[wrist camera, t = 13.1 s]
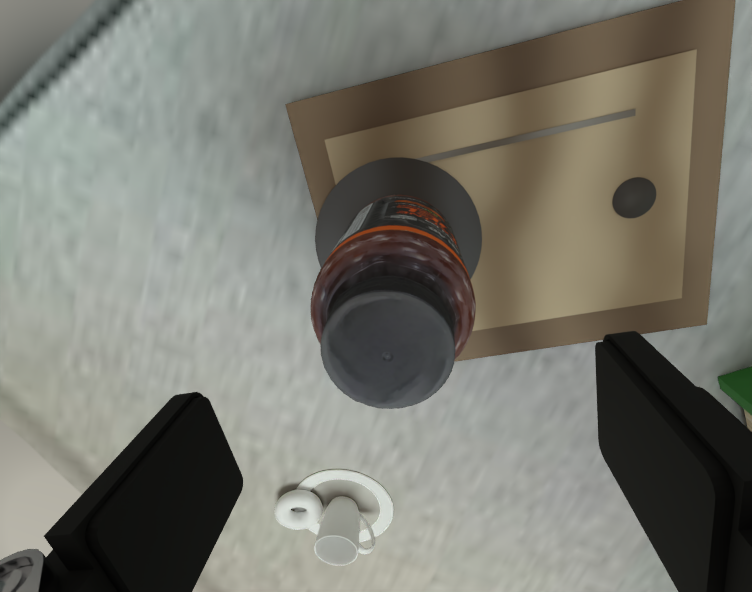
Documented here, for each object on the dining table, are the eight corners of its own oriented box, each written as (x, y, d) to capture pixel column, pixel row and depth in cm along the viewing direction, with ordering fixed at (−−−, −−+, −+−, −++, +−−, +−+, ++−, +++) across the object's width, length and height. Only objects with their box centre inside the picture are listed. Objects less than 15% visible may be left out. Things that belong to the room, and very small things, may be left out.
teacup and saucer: (268, 504, 33) (250, 552, 30) (316, 443, 30) (303, 488, 27) (359, 550, 35) (353, 602, 31) (413, 496, 32) (414, 546, 28)
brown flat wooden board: (720, -8, 18) (741, -16, 17) (695, 316, 24) (710, 326, 23) (281, 107, 21) (273, 106, 20) (355, 367, 27) (352, 379, 26)
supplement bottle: (476, 226, 21) (539, 325, 11) (418, 315, 24) (425, 466, 13) (376, 169, 21) (343, 218, 10) (326, 266, 23) (257, 386, 13)
